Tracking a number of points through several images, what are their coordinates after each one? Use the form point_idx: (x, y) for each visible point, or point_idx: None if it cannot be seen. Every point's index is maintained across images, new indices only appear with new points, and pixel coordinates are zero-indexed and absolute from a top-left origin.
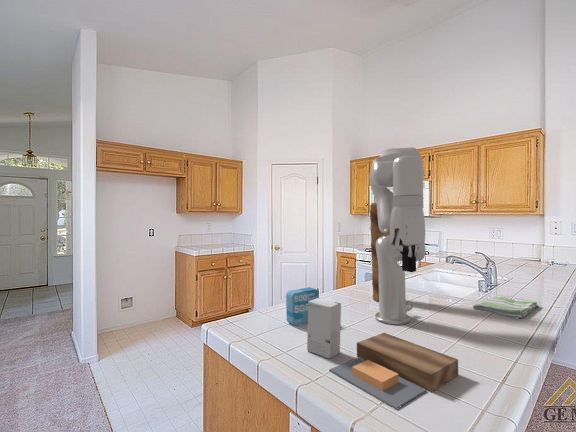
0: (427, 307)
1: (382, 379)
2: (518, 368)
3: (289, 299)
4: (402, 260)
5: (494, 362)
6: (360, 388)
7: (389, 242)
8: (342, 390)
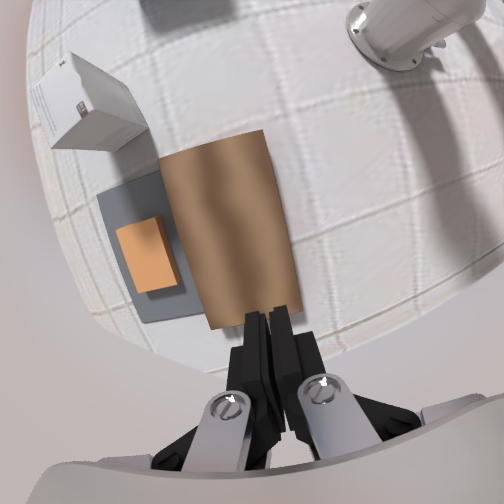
0: (480, 54)
1: (142, 286)
2: (398, 312)
3: None
4: (244, 358)
5: (391, 286)
6: (119, 264)
7: None
8: (96, 255)
